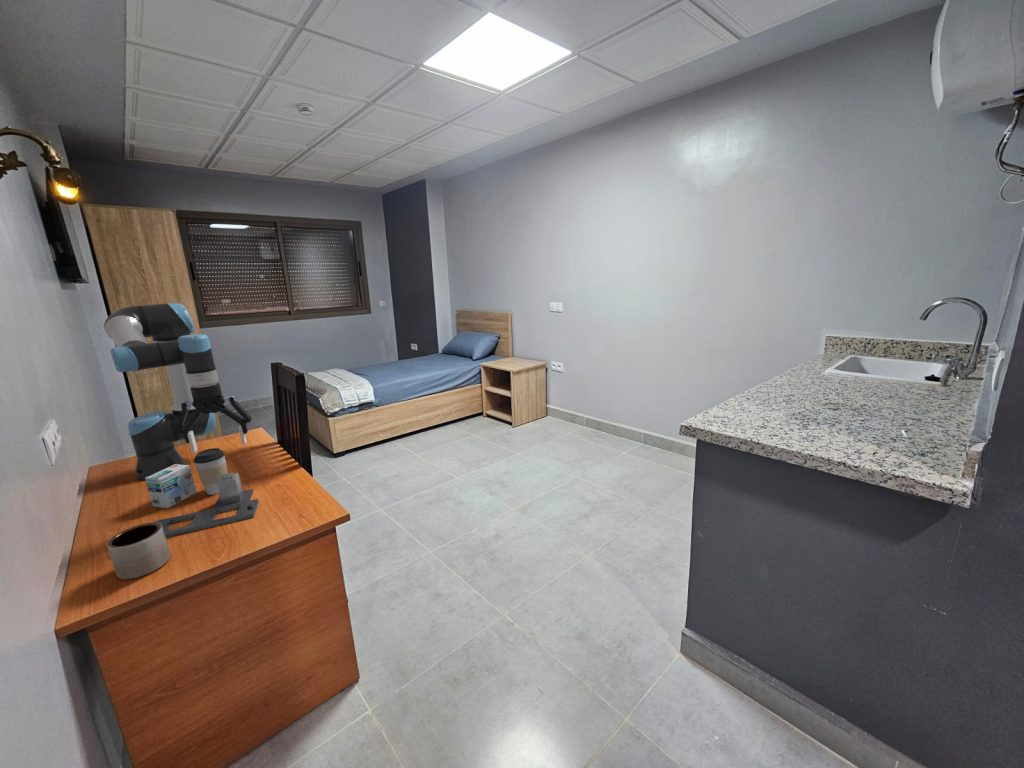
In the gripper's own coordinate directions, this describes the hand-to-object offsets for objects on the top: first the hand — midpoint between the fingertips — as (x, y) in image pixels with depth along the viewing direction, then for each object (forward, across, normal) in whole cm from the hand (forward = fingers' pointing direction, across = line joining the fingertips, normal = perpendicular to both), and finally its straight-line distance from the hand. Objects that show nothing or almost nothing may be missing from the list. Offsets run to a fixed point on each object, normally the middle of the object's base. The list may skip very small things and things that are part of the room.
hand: (220, 447), depth 133 cm
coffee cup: (+20, -7, +12) cm, 24 cm away
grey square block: (+19, 0, 0) cm, 19 cm away
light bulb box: (+20, -19, +11) cm, 29 cm away
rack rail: (+19, -6, -10) cm, 23 cm away
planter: (+20, -15, -28) cm, 38 cm away
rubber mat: (+20, 0, 0) cm, 20 cm away
